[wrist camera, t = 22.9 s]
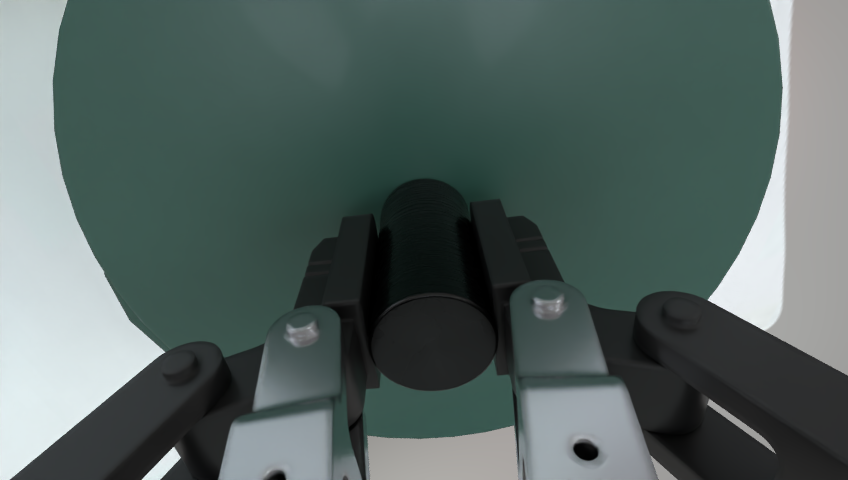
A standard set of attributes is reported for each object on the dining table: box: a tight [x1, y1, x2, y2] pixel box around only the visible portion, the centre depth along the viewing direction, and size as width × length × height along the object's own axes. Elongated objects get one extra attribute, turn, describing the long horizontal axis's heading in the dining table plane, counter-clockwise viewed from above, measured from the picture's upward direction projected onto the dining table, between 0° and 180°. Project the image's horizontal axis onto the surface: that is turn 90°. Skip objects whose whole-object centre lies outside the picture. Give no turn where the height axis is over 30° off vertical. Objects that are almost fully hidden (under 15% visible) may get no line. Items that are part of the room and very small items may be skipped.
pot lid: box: [53, 0, 783, 439], centre depth 11 cm, size 19×19×6 cm
